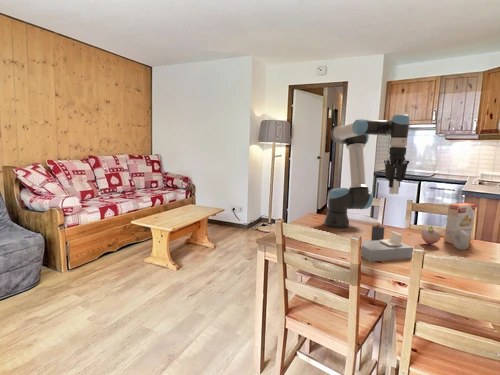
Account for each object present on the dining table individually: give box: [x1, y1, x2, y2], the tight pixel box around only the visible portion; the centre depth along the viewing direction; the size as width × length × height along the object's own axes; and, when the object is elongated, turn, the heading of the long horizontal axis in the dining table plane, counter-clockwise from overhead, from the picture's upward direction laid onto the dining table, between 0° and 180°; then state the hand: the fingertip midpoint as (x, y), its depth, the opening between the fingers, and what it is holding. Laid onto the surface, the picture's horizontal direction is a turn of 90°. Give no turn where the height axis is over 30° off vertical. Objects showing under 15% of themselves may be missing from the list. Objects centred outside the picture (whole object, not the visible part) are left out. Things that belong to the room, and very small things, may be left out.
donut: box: [453, 230, 470, 251], centre depth 148 cm, size 10×3×10 cm, turn 174°
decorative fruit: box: [421, 225, 441, 246], centre depth 154 cm, size 9×8×10 cm
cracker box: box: [443, 202, 477, 246], centre depth 159 cm, size 14×6×21 cm, turn 114°
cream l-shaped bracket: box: [379, 230, 403, 246], centre depth 139 cm, size 7×7×5 cm
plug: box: [370, 222, 385, 241], centre depth 151 cm, size 4×4×12 cm
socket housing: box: [361, 240, 414, 262], centre depth 138 cm, size 12×22×5 cm, turn 104°
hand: (393, 193), depth 151 cm, fingers open, 2 cm apart
